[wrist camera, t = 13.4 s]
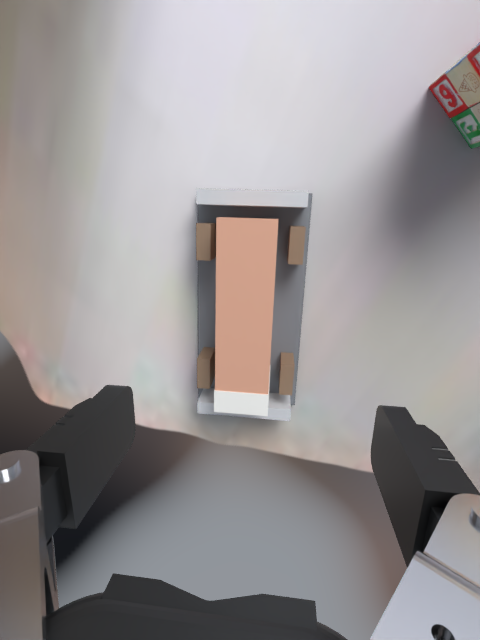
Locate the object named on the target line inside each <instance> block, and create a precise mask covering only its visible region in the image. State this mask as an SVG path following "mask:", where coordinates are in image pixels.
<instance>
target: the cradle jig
mask: <svg viewBox="0 0 480 640" xmlns="http://www.w3.org/2000/svg"><path fill="white" fill-rule="evenodd" d="M196 204H198V223H196V260H198V358H197V388H198V394H199V399H198V402H197V413H201V414H212V415H224V416H236V417H248V418H260V419H271V420H283V421H290V415H291V405H295V393H296V382H297V370H298V358H299V346H300V334H301V322H302V311H303V299H304V287H305V275H306V263H307V251H308V240H309V228H310V216H311V204H312V194H309V191H290V190H248V189H207V188H196ZM216 217H234V218H267V219H279V220H278V237H277V254H276V271H275V288H274V306H273V323H272V340H271V357H270V384H269V402H268V416H258V415H246V414H234V413H222V412H214V390H215V324H216Z"/></svg>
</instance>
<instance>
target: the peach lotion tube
mask: <svg viewBox="0 0 480 640" xmlns="http://www.w3.org/2000/svg"><path fill="white" fill-rule="evenodd" d="M278 220H279V219H267V218H234V217H216V324H215V390H214V412H222V413H234V414H246V415H258V416H268V402H269V384H270V357H271V340H272V323H273V306H274V288H275V271H276V254H277V237H278Z"/></svg>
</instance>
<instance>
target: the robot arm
mask: <svg viewBox="0 0 480 640" xmlns="http://www.w3.org/2000/svg"><path fill="white" fill-rule="evenodd" d="M134 437H135V415H134V403H133V392H132V389H131V387H129V386H117V385H106V386H105V387H104V388H103V389H102V390H101V391H100V392H99V393H98V394H96V395H95V396H94V397H93V398H89V399H87V400H85V401H83V402H81V403H79V404H77V405H75V406H74V407H73V408H72V409H71V410H70V411H69V412H67V414H65V416H64V417H62V418H61V419H60V420H59V421H58V422H56V425H53V426H52V427H51V428H50V429H49V430H48V431H46V432H45V433H44V434H43V435H42V436H41V437H40V438H39V439H38V440H37V441H35V442H34V443H33V444H32V445H31V446H30V447H29V448H28V449H27V450H17V451H11V452H7V453H4V454H1V455H0V640H347V639H346V638H345V637H343V636H342V635H340V634H339V633H338V632H336V631H334V630H332V629H331V628H329V627H327V626H325V625H323V624H321V623H319V622H317V619H316V606H315V601H311V600H304V599H297V598H289V597H282V596H275V595H266V594H259V595H252V596H245V597H237V598H230V599H223V600H215V601H207V600H204V599H201V598H199V597H197V596H195V595H192V594H190V593H188V592H186V591H183V590H181V589H179V588H177V587H175V586H172V585H170V584H168V583H166V582H163V581H162V580H157V579H149V578H142V577H135V576H127V575H120V574H113V575H112V577H111V579H110V581H109V583H108V585H107V588H106V589H105V591H104V592H103V593H97V594H94V595H90V596H86V597H84V598H81V599H78V600H76V601H73V602H71V603H69V604H67V605H65V606H63V607H61V608H59V602H58V589H57V577H56V565H55V552H54V542H53V537H52V535H53V534H54V533H55V531H56V530H57V529H58V527H64V528H72V529H76V528H77V527H78V525H79V524H80V522H81V521H82V519H83V518H84V516H85V515H86V513H87V512H88V510H89V509H90V507H91V506H92V504H93V503H94V501H95V500H96V498H97V497H98V495H99V494H100V492H101V491H102V489H103V488H104V486H105V485H106V483H107V482H108V480H109V479H110V477H111V476H112V474H113V473H114V471H115V470H116V468H117V466H118V465H119V464H120V462H121V461H122V459H123V458H124V456H125V455H126V453H127V452H128V450H129V449H130V447H131V445H132V443H133V440H134ZM371 464H372V469H373V472H374V475H375V477H376V480H377V483H378V486H379V489H380V492H381V494H382V497H383V500H384V503H385V506H386V509H387V511H388V514H389V517H390V520H391V523H392V526H393V528H394V531H395V534H396V537H397V540H398V543H399V546H400V548H401V551H402V554H403V557H404V559H405V562H406V565H407V570H406V572H405V574H404V576H403V578H402V579H401V581H400V583H399V585H398V587H397V589H396V591H395V593H394V595H393V596H392V598H391V600H390V602H389V604H388V606H387V608H386V610H385V612H384V614H383V615H382V617H381V619H380V621H379V623H378V625H377V627H376V629H375V631H374V632H373V634H372V637H371V638H370V640H480V493H479V492H478V490H477V489H476V487H475V486H474V485H473V483H472V482H471V480H470V479H469V478H468V476H467V475H466V473H465V472H464V471H463V469H462V468H461V466H460V465H459V464H458V462H457V461H455V458H454V456H453V455H452V454H451V452H450V451H448V448H447V447H446V445H445V444H444V442H443V441H442V440H441V438H440V437H439V436H438V435H437V434H436V433H434V432H433V431H432V430H430V429H429V428H428V427H426V426H425V425H418V424H416V423H415V421H414V420H413V418H412V416H411V415H410V413H409V412H408V410H407V409H406V408H405V407H396V406H382V405H380V406H378V408H377V411H376V418H375V425H374V432H373V438H372V445H371Z"/></svg>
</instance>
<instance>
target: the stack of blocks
mask: <svg viewBox="0 0 480 640" xmlns="http://www.w3.org/2000/svg"><path fill="white" fill-rule="evenodd" d="M429 89H430V90H431V92H432V93H433V95H434V96H435V98H436V99H437V100H438V102H439V103H440V105H441V106H442V108H443V109H444V111H445V112H446V113H447V115H448V116H449V118H451V120H452V121H453V122H454V124H455V125H456V127H457V128H458V130H459V131H460V133H461V134H462V136H463V137H464V139H465V140H466V142H467V143H468V145H469V146H470V148H471V149H472V148H476V147H479V146H480V42H479V43H478V44H477V45H476V46H475V47H474V48H472V49H471V50H470V51H469V52H468V53H467V54H465V55H464V56H463V57H462V58H461V59H460V60H459V61H457V62H456V63H455V64H454V65H453V66H452V67H451V68H449V69H448V70H447V71H446V72H445V73H444V74H443V75H441V76H440V77H439V78H438V79H437V80H436V81H435V82H433V83H432V84H431V85H430V87H429Z"/></svg>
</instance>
